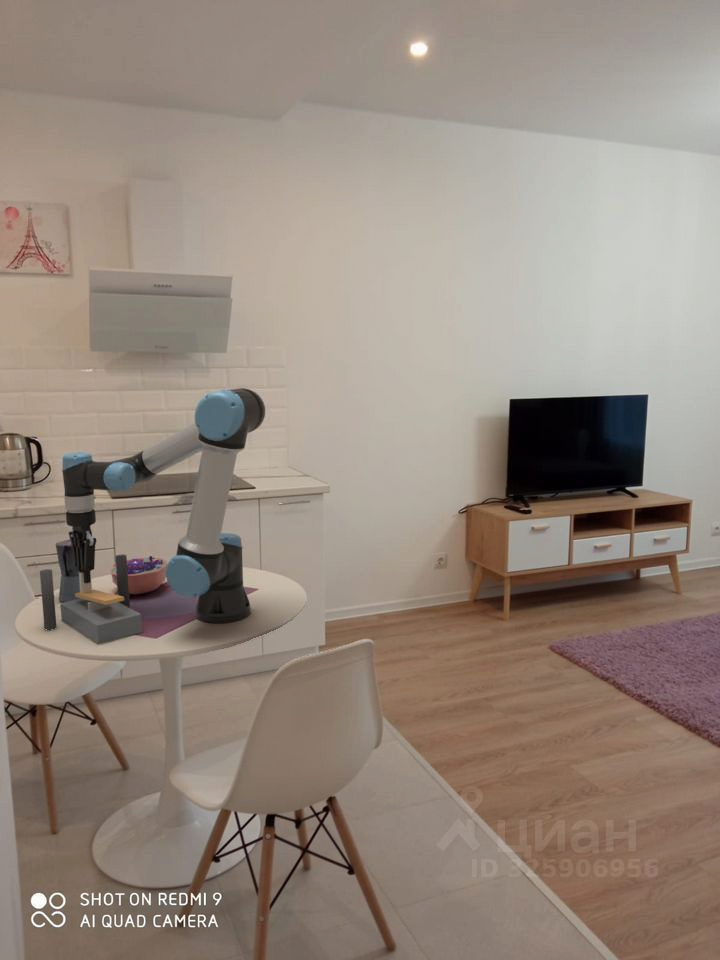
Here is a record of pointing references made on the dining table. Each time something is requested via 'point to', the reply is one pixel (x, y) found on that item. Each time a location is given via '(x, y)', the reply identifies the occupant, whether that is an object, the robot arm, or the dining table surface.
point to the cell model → (143, 574)
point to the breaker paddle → (100, 597)
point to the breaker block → (101, 619)
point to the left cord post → (48, 599)
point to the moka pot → (67, 572)
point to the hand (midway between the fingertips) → (86, 593)
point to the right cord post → (122, 579)
